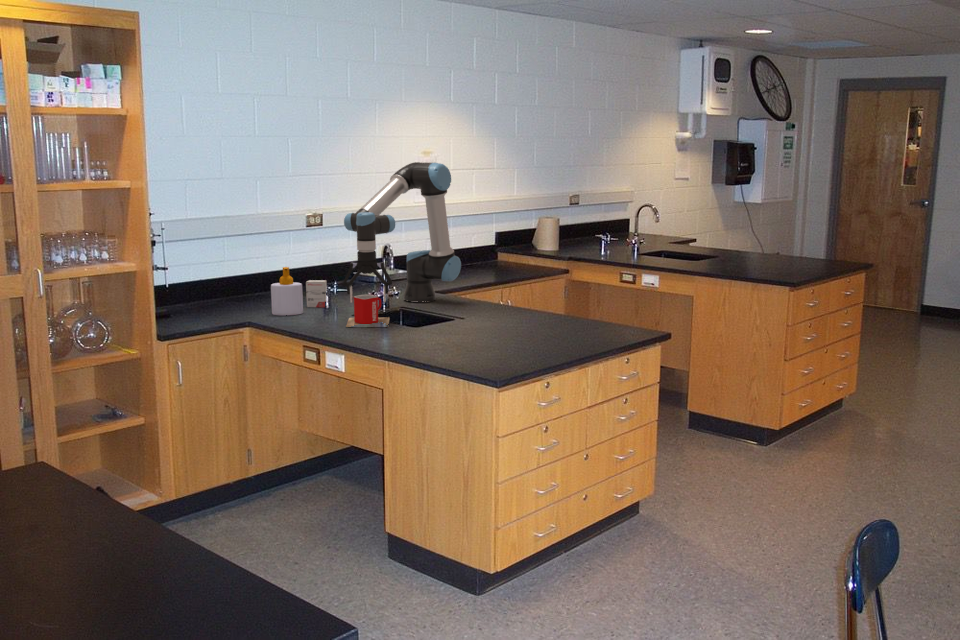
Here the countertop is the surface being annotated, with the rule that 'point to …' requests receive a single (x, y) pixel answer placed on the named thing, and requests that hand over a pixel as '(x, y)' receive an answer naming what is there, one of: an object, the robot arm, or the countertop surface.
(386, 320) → the coaster board
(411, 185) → the robot arm
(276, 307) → the soap bottle
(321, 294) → the ink box
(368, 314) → the mug
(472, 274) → the countertop surface
